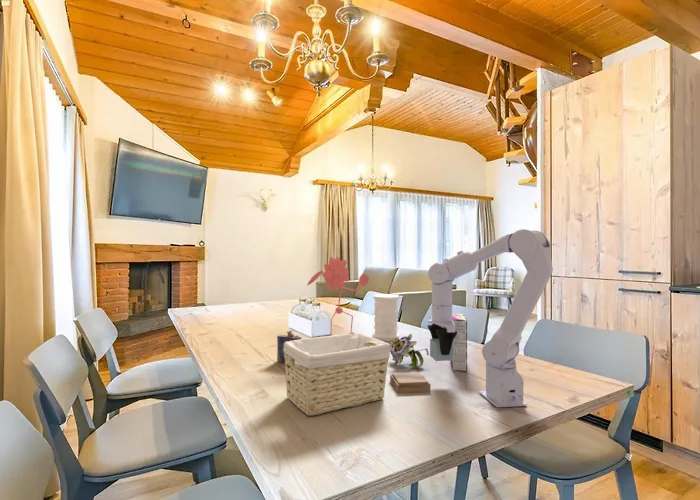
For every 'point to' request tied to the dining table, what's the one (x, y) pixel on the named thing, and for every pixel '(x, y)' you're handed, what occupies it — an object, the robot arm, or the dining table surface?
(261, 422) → the dining table surface
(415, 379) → the square coaster
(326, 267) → the figurine
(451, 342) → the robot arm
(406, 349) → the passion flower
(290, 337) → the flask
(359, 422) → the dining table surface
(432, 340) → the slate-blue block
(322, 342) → the storage basket
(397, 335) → the decorative container
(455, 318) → the candy bar box
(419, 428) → the dining table surface
